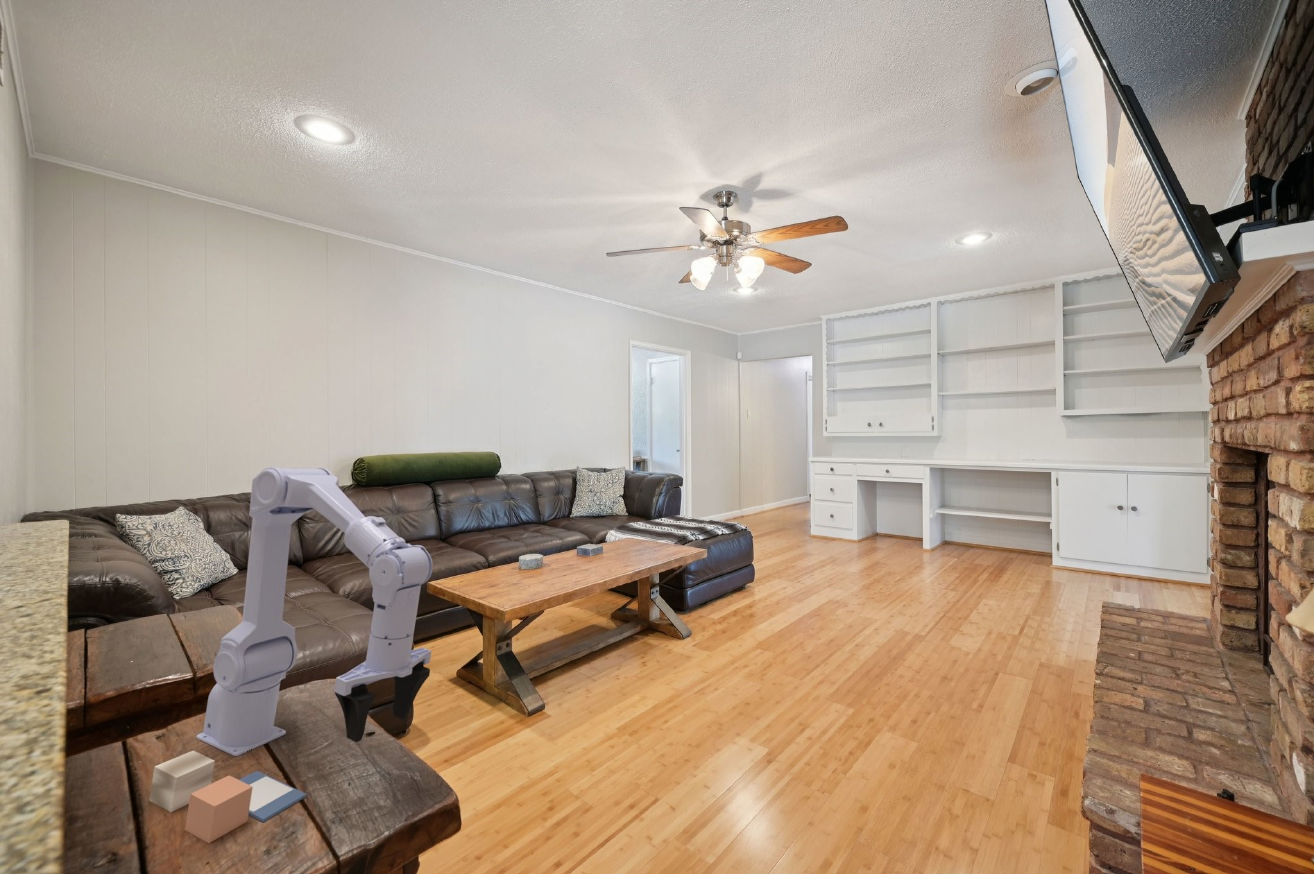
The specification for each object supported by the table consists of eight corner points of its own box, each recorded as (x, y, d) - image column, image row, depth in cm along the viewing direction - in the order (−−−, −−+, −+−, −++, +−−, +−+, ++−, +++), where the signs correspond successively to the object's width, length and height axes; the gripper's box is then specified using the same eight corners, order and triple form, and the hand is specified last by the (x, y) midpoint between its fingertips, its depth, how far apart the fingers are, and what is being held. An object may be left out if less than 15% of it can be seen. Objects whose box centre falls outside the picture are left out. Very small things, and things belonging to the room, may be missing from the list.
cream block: (149, 801, 72) (154, 766, 72) (188, 783, 76) (193, 750, 76) (171, 813, 70) (176, 777, 70) (209, 794, 75) (214, 760, 75)
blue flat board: (211, 796, 74) (211, 792, 74) (256, 773, 80) (257, 770, 80) (262, 822, 71) (263, 818, 71) (306, 796, 76) (306, 793, 76)
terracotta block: (184, 830, 68) (190, 793, 68) (223, 809, 72) (229, 775, 72) (208, 844, 66) (214, 806, 66) (247, 822, 71) (252, 786, 71)
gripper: (367, 654, 70) (351, 760, 70) (450, 627, 84) (437, 716, 83) (330, 639, 73) (314, 742, 73) (416, 615, 87) (403, 702, 86)
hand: (378, 727), depth 78 cm, fingers open, 7 cm apart
